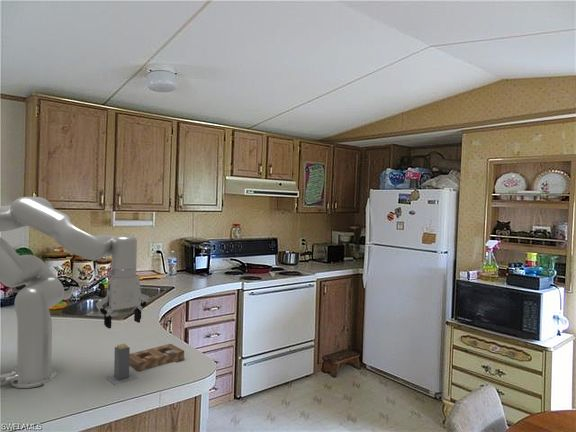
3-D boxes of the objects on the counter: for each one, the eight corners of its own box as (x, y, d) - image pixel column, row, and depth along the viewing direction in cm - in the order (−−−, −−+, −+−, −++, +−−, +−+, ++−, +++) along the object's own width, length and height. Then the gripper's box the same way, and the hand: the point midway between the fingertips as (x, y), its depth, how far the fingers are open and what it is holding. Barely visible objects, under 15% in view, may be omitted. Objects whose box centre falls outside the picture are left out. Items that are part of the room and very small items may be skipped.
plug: (118, 380, 131) (119, 347, 131) (114, 377, 133) (114, 345, 133) (129, 377, 133) (129, 345, 133) (124, 374, 136) (125, 342, 135)
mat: (114, 386, 128) (114, 385, 128) (104, 378, 133) (104, 376, 133) (138, 379, 133) (138, 377, 133) (128, 372, 139) (128, 370, 139)
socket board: (137, 373, 138) (138, 361, 138) (125, 364, 145) (125, 353, 145) (184, 359, 151) (184, 349, 151) (170, 352, 158) (170, 342, 158)
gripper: (101, 277, 124) (100, 332, 124) (154, 272, 136) (152, 322, 137) (92, 274, 129) (91, 327, 129) (143, 269, 141) (142, 317, 142)
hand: (123, 324), depth 133 cm, fingers open, 9 cm apart
